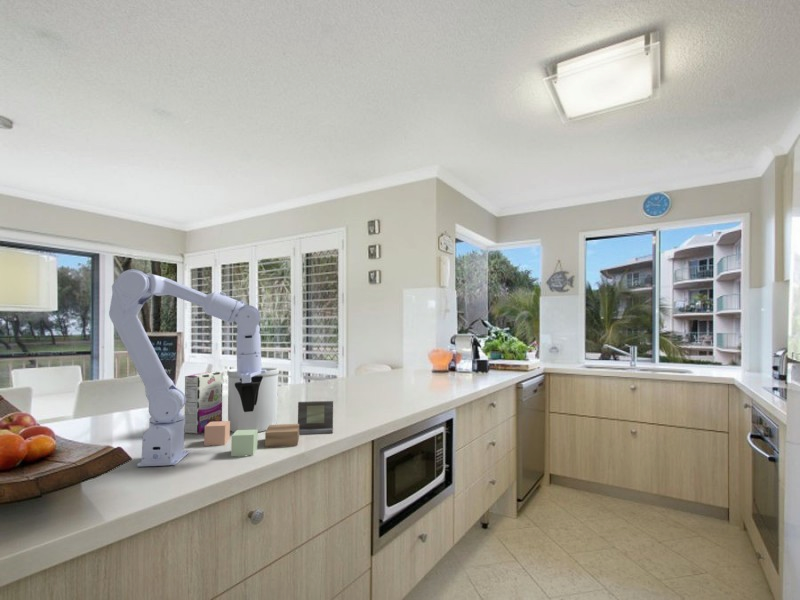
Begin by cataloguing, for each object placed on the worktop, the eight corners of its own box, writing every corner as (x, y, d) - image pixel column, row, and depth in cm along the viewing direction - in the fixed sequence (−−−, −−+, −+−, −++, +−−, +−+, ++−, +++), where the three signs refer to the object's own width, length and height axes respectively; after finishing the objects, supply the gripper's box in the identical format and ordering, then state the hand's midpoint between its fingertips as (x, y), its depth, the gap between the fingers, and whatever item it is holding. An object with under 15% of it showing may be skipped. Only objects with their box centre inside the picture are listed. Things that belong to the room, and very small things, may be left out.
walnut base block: (297, 447, 106) (297, 431, 106) (265, 448, 104) (265, 432, 105) (298, 438, 114) (299, 423, 114) (268, 439, 112) (269, 424, 113)
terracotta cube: (224, 445, 106) (225, 425, 107) (204, 446, 106) (204, 426, 106) (229, 439, 111) (230, 421, 112) (210, 440, 111) (210, 421, 111)
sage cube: (253, 456, 98) (253, 434, 98) (231, 457, 97) (231, 435, 98) (257, 449, 103) (257, 429, 103) (236, 450, 102) (236, 430, 102)
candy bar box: (208, 424, 128) (209, 370, 129) (222, 424, 127) (223, 371, 128) (182, 433, 117) (184, 375, 118) (197, 434, 116) (199, 375, 117)
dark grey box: (332, 433, 118) (333, 403, 119) (296, 434, 117) (297, 404, 117) (332, 428, 124) (333, 399, 124) (298, 429, 122) (299, 400, 123)
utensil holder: (217, 427, 124) (219, 368, 125) (263, 419, 135) (265, 365, 136) (238, 437, 114) (240, 373, 115) (287, 427, 124) (288, 369, 125)
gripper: (263, 354, 97) (265, 412, 96) (267, 350, 111) (269, 401, 111) (231, 356, 95) (233, 415, 95) (239, 351, 109) (241, 403, 109)
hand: (250, 408), depth 102 cm, fingers open, 7 cm apart
